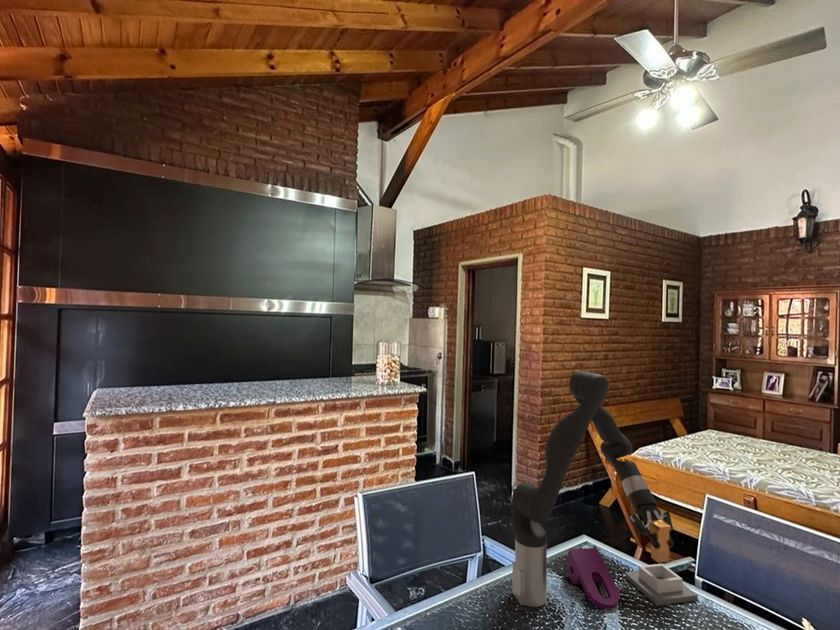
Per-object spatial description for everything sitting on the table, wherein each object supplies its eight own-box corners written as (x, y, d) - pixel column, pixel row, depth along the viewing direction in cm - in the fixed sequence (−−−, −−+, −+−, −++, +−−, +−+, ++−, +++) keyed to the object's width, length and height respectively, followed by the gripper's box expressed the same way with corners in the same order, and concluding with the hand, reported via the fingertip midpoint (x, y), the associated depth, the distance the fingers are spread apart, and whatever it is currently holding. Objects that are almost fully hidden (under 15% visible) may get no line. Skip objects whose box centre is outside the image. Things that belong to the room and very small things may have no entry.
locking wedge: (659, 563, 133) (659, 527, 133) (649, 556, 137) (649, 520, 137) (671, 562, 134) (670, 526, 134) (660, 555, 138) (660, 519, 138)
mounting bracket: (618, 621, 129) (591, 564, 145) (625, 604, 125) (597, 547, 142) (588, 623, 128) (564, 566, 144) (594, 606, 124) (569, 549, 141)
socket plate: (656, 605, 127) (656, 588, 127) (625, 577, 141) (625, 562, 141) (697, 600, 130) (697, 583, 130) (663, 573, 144) (663, 558, 144)
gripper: (624, 489, 142) (650, 545, 130) (662, 486, 144) (691, 541, 132) (614, 499, 147) (638, 554, 135) (651, 495, 150) (678, 549, 138)
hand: (664, 547), depth 134 cm, fingers closed on locking wedge, 4 cm apart
